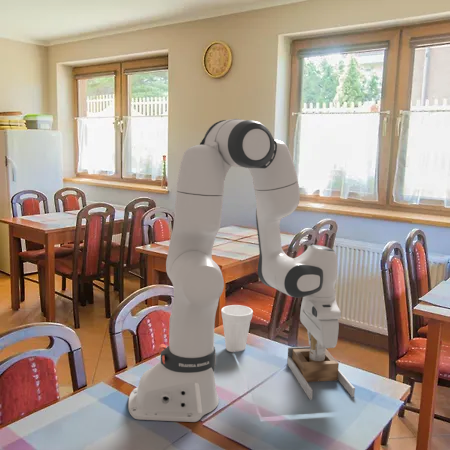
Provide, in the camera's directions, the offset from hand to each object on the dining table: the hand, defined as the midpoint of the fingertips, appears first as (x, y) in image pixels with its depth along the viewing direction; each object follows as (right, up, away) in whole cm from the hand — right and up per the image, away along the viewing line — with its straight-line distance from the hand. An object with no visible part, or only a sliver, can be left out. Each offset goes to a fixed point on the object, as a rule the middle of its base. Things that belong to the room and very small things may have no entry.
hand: (315, 349), depth 136 cm
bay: (0, -8, -2) cm, 9 cm away
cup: (-22, -5, +17) cm, 28 cm away
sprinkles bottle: (0, -6, +1) cm, 6 cm away
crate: (0, -7, +1) cm, 7 cm away
